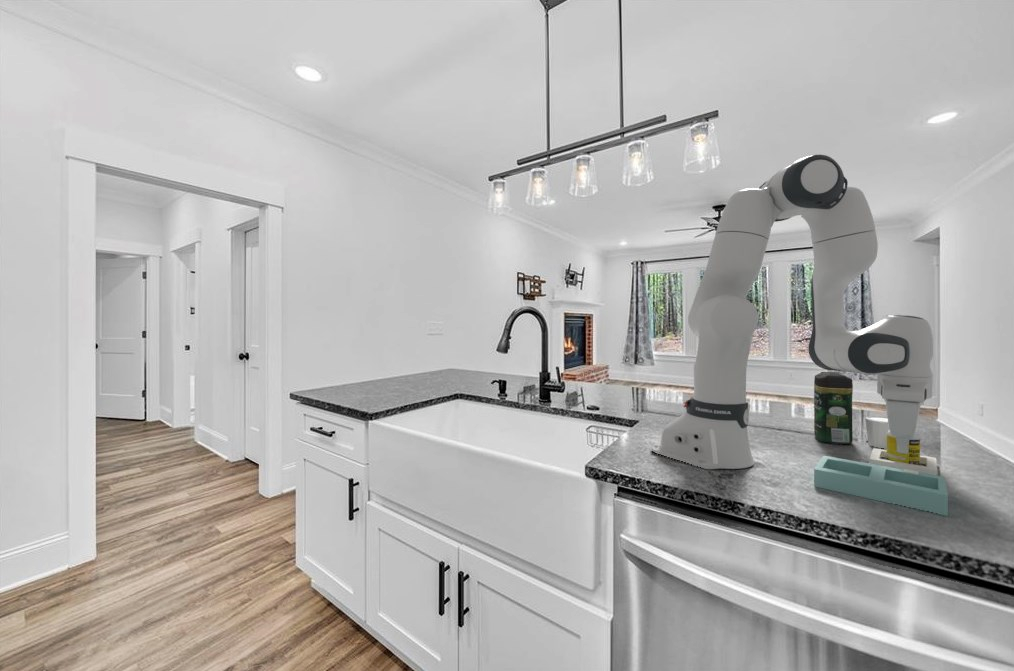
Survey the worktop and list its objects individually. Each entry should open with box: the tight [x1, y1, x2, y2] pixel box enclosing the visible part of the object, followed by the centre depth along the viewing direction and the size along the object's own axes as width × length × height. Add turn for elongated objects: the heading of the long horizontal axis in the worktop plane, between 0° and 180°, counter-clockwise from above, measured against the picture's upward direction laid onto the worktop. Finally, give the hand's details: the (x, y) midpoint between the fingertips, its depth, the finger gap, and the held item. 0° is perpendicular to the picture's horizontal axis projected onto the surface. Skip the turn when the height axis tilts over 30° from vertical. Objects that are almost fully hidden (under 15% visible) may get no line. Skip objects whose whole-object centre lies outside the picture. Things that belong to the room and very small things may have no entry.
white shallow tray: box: [868, 447, 938, 476], centre depth 92 cm, size 10×10×2 cm
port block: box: [813, 455, 949, 517], centre depth 78 cm, size 18×11×4 cm, turn 45°
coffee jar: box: [813, 371, 854, 446], centre depth 110 cm, size 10×8×19 cm
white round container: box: [865, 416, 889, 450], centre depth 105 cm, size 7×7×7 cm
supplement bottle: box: [885, 430, 921, 466], centre depth 91 cm, size 5×5×10 cm
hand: (903, 448), depth 91 cm, fingers closed on supplement bottle, 5 cm apart
